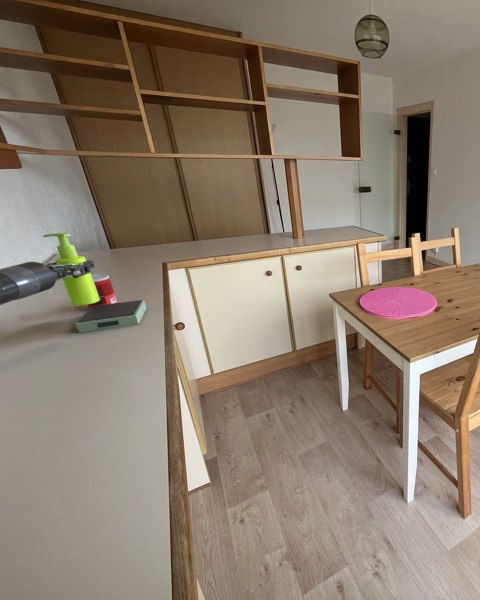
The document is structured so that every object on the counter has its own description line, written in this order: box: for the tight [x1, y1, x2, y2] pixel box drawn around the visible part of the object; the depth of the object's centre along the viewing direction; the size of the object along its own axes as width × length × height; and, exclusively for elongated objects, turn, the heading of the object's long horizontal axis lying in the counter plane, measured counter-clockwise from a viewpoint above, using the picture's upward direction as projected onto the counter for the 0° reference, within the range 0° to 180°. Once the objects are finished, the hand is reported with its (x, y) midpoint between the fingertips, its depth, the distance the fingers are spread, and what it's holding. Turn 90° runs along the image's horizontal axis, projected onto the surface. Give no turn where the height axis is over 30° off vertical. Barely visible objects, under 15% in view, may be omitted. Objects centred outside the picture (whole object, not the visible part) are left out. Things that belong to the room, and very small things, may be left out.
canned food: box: [86, 273, 118, 310], centre depth 108 cm, size 8×8×11 cm
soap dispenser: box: [42, 232, 100, 307], centre depth 88 cm, size 6×7×20 cm
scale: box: [75, 299, 147, 333], centre depth 100 cm, size 14×14×3 cm
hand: (79, 263), depth 90 cm, fingers closed on soap dispenser, 6 cm apart
